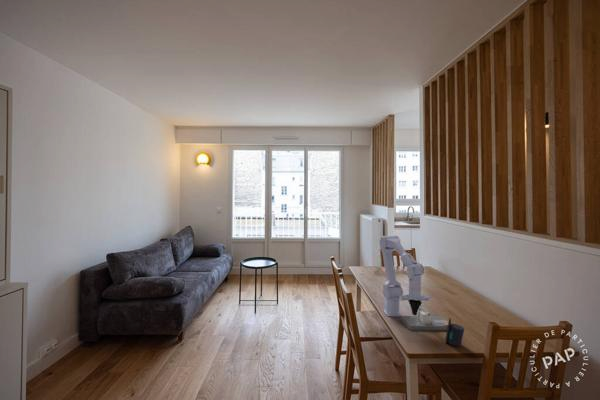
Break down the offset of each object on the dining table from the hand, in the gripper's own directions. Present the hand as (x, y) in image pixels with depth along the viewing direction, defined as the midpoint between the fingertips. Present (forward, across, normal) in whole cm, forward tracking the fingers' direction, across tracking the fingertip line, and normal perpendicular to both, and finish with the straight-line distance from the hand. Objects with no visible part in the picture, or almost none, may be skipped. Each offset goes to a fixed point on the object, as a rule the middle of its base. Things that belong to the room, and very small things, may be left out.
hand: (414, 314), depth 153 cm
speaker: (+7, +12, -16) cm, 21 cm away
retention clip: (+5, +7, +4) cm, 9 cm away
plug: (+7, +7, +3) cm, 10 cm away
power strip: (+7, +8, +4) cm, 11 cm away
